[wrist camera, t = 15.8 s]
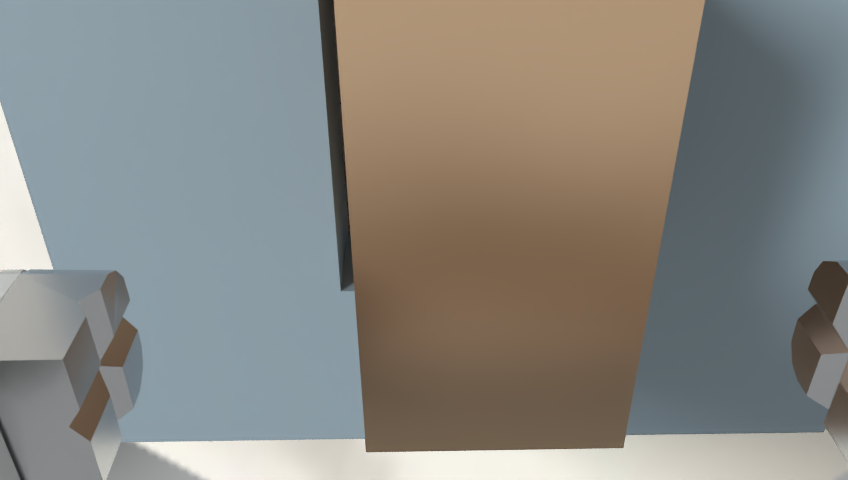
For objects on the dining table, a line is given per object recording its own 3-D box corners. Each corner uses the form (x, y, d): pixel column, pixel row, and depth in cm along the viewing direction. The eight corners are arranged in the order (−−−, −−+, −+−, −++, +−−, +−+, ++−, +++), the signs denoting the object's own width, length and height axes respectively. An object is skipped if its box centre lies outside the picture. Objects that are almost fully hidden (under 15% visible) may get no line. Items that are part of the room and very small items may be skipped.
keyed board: (137, 373, 22) (80, 508, 18) (-101, -505, 12) (-335, -615, 8) (784, 365, 22) (862, 496, 18) (1065, -510, 12) (1360, -619, 8)
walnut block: (368, -120, 15) (333, -3, 8) (576, -123, 15) (706, -7, 8) (382, 196, 19) (366, 452, 12) (548, 194, 19) (623, 447, 12)
